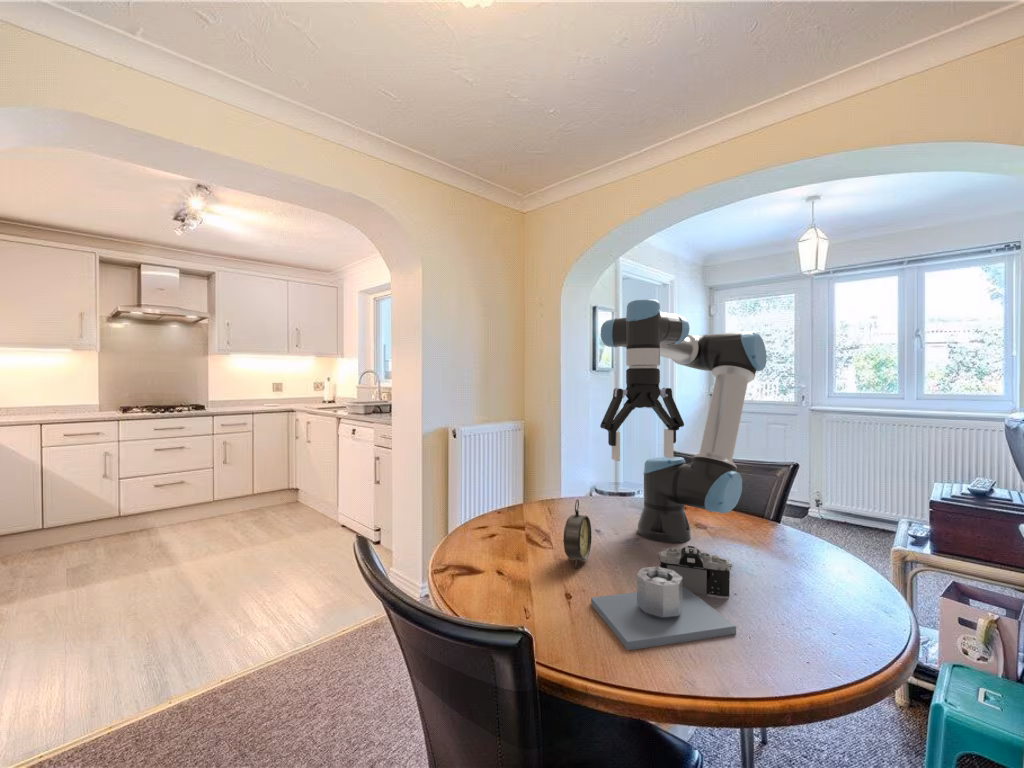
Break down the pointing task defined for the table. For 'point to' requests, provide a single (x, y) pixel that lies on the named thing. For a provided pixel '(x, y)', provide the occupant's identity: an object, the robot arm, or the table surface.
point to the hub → (659, 592)
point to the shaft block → (660, 621)
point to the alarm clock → (577, 536)
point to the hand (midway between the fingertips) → (642, 458)
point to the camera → (699, 571)
